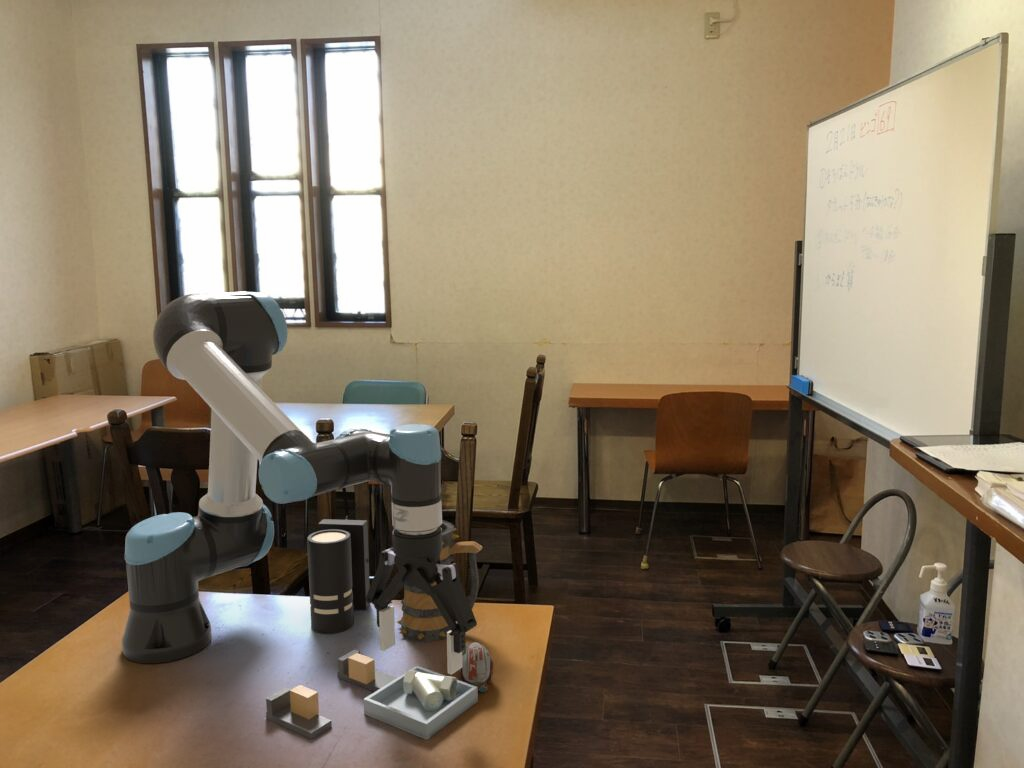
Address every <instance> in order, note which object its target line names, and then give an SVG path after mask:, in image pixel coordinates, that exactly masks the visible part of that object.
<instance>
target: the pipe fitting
mask: <svg viewBox="0 0 1024 768" xmlns="http://www.w3.org/2000/svg"><path fill="white" fill-rule="evenodd" d="M405 673H406V674H405V676H404V680H403V690H404V693H410V694H416V696H417V697H418V699H419V700H420V702H421V704H422V705H423V707H424V708H425V709H426V710H427V711H435V710H437V709H438V708H439V707H440V706H441V705H442V703H443V700H448V701H450V700H453V699H454V698H455V696H456V692H457V686H458V682H457V680H458V678H457V677H456V676H452V675H445V676H440V675H434V674H428V673H422V672H420V671H416V670H411V669H408V670H407V671H406V672H405Z"/></svg>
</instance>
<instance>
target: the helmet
mask: <svg viewBox="0 0 1024 768" xmlns="http://www.w3.org/2000/svg"><path fill="white" fill-rule="evenodd" d="M494 663H495V662H494V660H493V659H492V658H491V655H490V652H489V650H488V649H487V647H486V646H485V645H483V644H481V643H479V642H477V641H475V642H472V643H470V644H467V645H466V647H465V650H463V651H462V668H461V669H459V670H458V671H457V672H458V677H459V680H460V681H462V682H465V683H466V681H467V683H469V684H470V683H471V684H473V685H474V686H476V687H478V691H479V692H481V693H485V692H487V690H488V687H487V686H488V685H487V684H489V683H490V682H491V680H492V678H493V675H494V665H495V664H494ZM484 682H485V683H484ZM482 683H484V684H482ZM479 684H481V685H479Z"/></svg>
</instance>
